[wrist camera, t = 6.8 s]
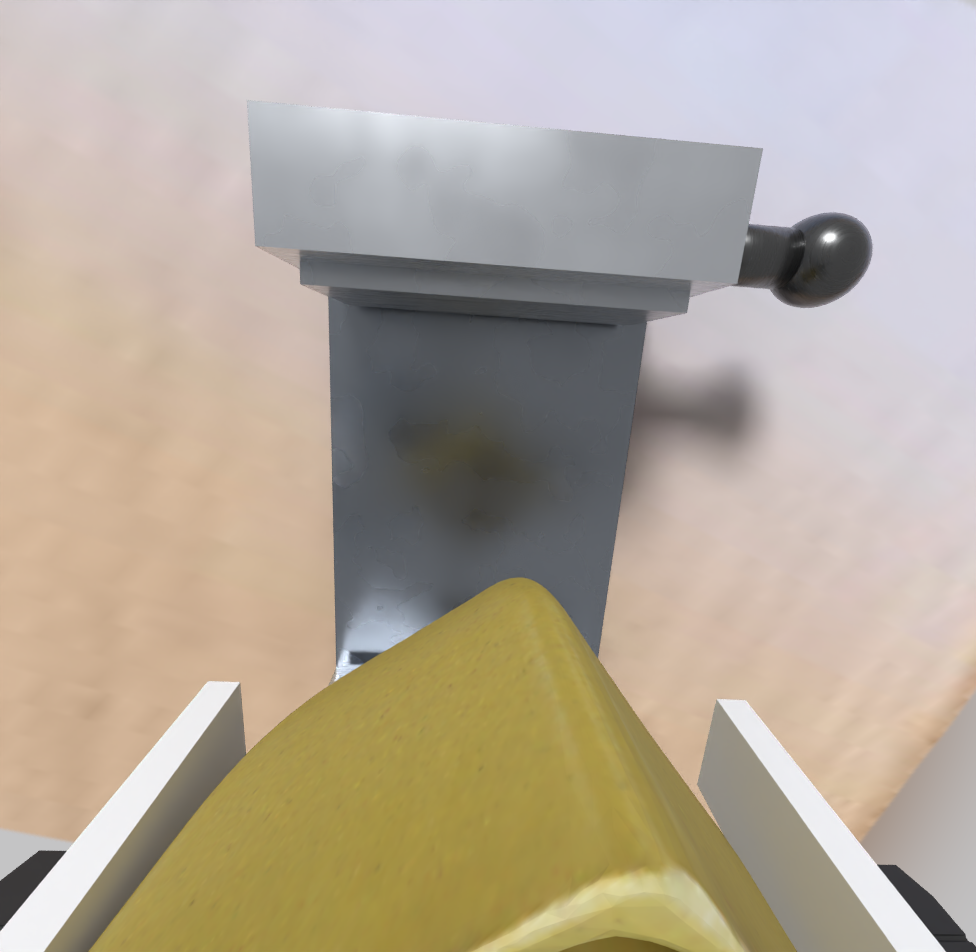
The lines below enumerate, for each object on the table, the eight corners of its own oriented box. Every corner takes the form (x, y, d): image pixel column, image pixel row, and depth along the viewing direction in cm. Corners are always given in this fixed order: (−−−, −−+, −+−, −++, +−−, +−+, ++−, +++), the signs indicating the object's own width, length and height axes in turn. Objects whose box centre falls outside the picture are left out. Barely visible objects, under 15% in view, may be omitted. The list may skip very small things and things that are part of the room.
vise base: (345, 696, 24) (281, 868, 16) (336, 148, 18) (222, -30, 10) (581, 704, 25) (634, 872, 17) (654, 176, 19) (799, 32, 10)
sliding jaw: (338, 305, 18) (256, 272, 11) (337, 204, 17) (247, 100, 10) (773, 337, 19) (945, 324, 12) (794, 242, 18) (992, 170, 11)
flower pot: (442, 844, 15) (397, 1558, 6) (263, 654, 13) (-201, 1305, 4) (680, 714, 14) (1046, 1346, 5) (526, 485, 12) (680, 861, 3)
